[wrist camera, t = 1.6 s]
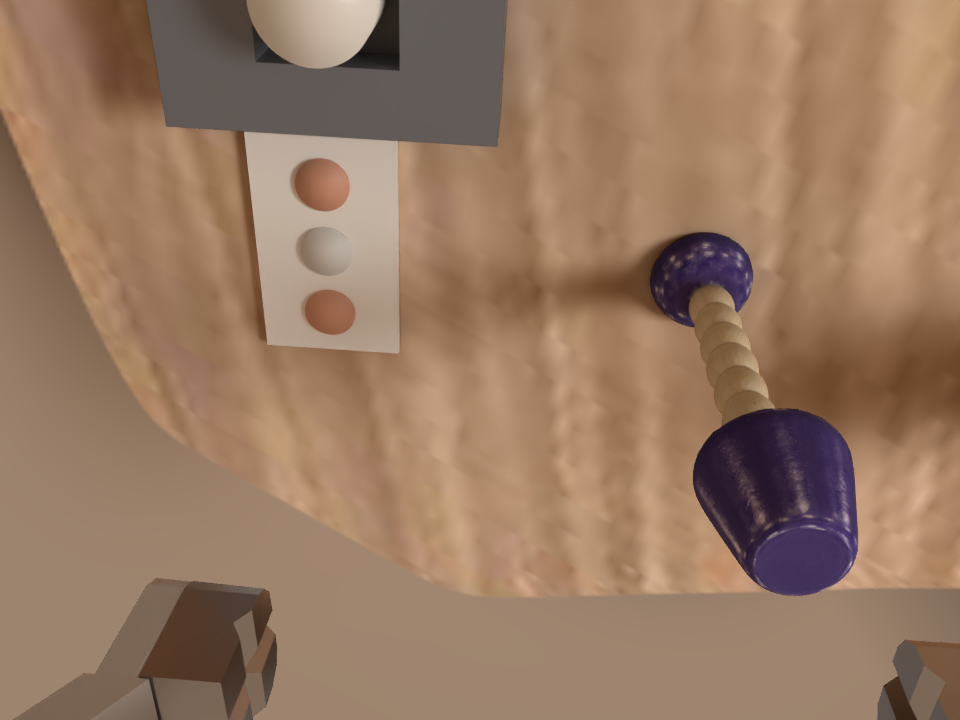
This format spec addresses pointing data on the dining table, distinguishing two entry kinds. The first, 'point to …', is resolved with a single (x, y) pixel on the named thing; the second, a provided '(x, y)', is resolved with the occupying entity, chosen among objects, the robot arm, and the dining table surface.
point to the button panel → (337, 74)
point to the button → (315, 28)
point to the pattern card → (327, 239)
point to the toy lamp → (758, 435)
